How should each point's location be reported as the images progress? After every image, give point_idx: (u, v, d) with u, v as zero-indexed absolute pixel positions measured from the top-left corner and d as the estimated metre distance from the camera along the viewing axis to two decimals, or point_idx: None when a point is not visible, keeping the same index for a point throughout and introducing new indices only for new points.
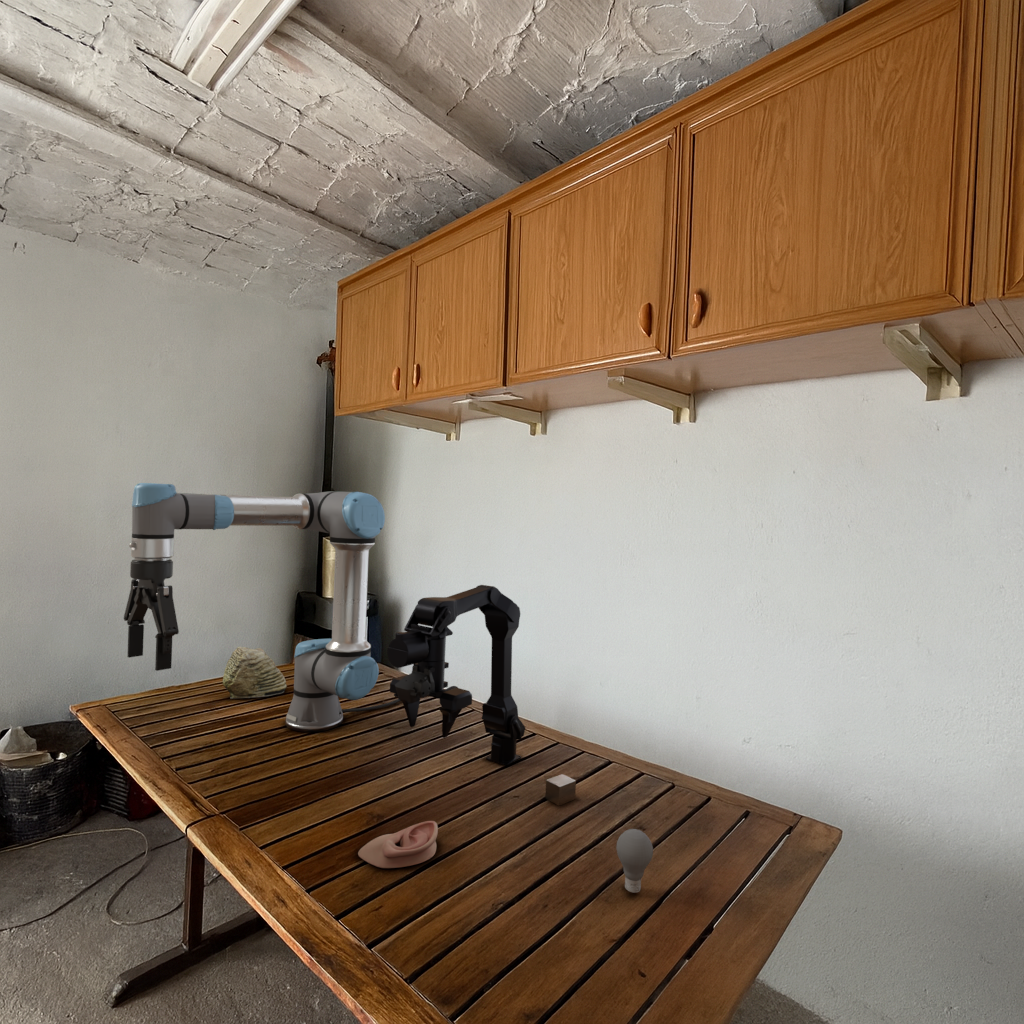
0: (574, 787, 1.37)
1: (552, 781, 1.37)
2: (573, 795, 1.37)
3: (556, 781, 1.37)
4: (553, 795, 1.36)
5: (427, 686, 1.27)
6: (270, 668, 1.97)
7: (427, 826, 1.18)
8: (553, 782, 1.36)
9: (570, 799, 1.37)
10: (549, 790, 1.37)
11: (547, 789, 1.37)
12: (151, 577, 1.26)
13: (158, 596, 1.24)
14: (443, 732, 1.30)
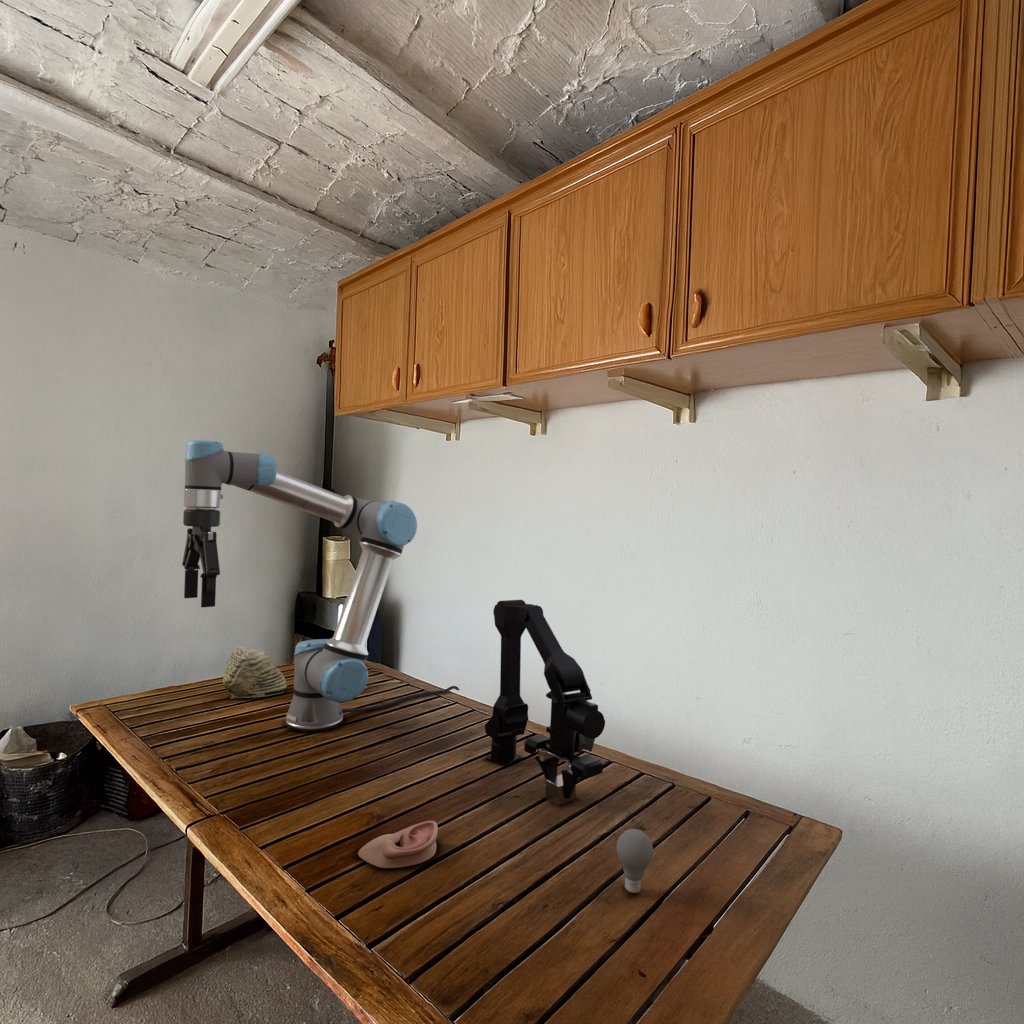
0: (574, 787, 1.37)
1: (552, 781, 1.37)
2: (573, 795, 1.37)
3: (556, 781, 1.37)
4: (553, 795, 1.36)
5: None
6: (270, 668, 1.97)
7: (427, 826, 1.18)
8: (553, 782, 1.36)
9: (570, 799, 1.37)
10: (549, 790, 1.37)
11: (547, 789, 1.37)
12: None
13: None
14: None
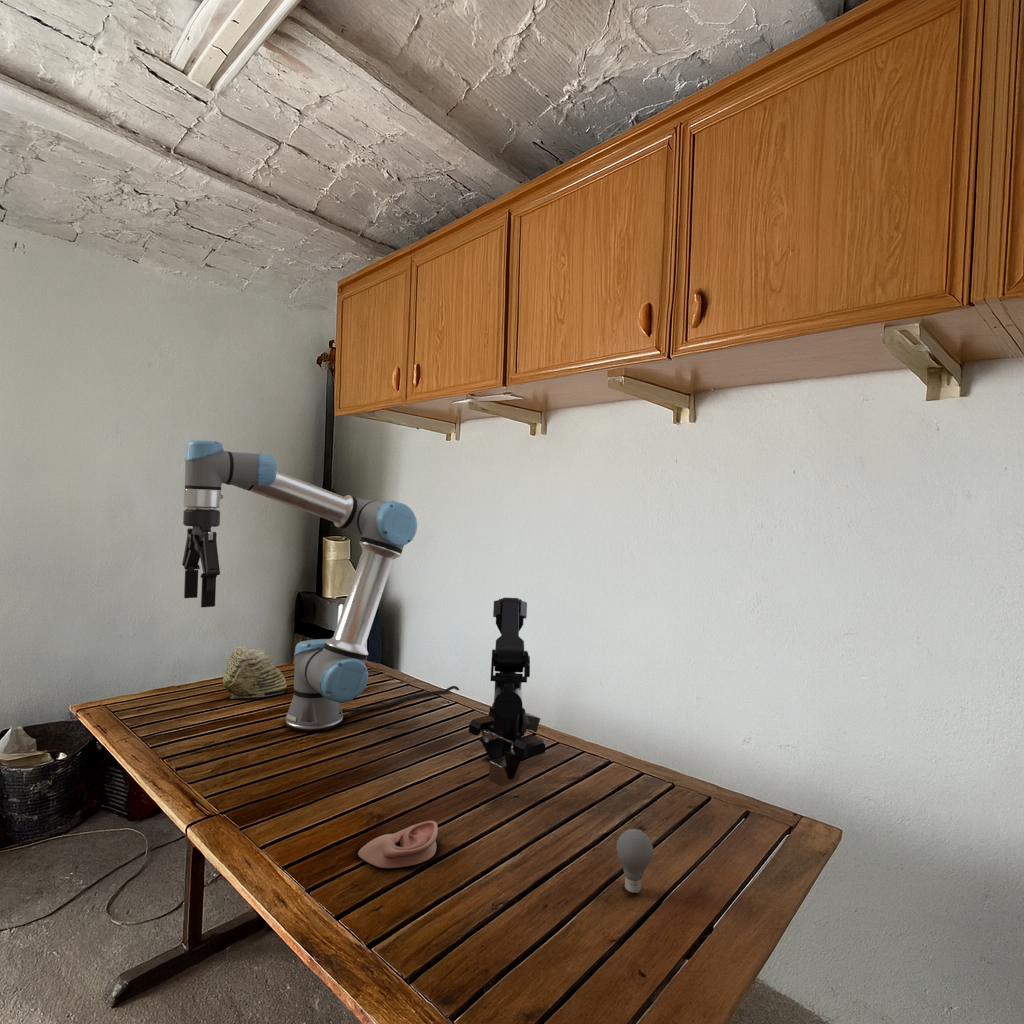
0: (518, 768, 1.36)
1: (496, 762, 1.35)
2: (517, 776, 1.36)
3: (499, 762, 1.35)
4: (496, 776, 1.34)
5: None
6: (270, 668, 1.97)
7: (427, 826, 1.18)
8: (496, 762, 1.35)
9: (514, 780, 1.35)
10: (492, 771, 1.35)
11: (491, 770, 1.35)
12: None
13: None
14: None
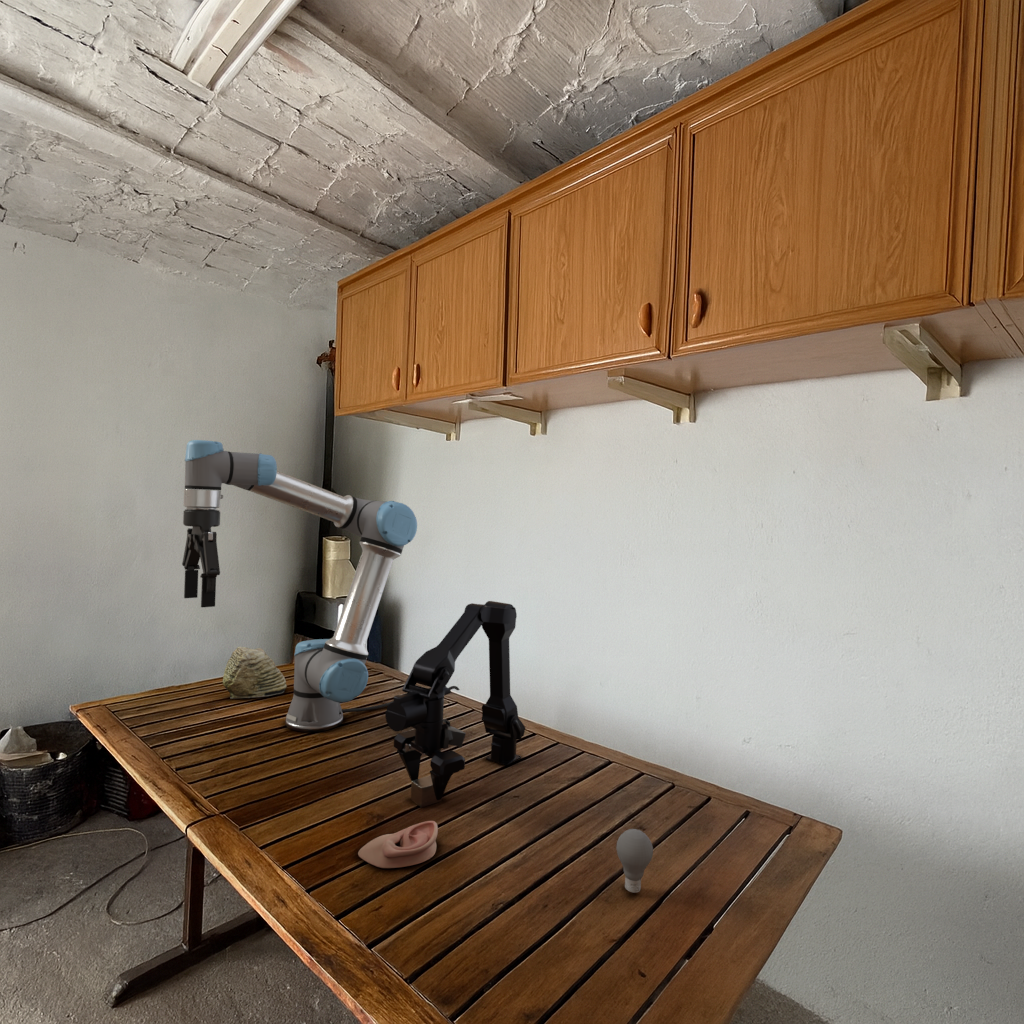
0: None
1: (417, 782, 1.33)
2: None
3: (421, 782, 1.33)
4: (417, 797, 1.32)
5: None
6: (270, 668, 1.97)
7: (427, 826, 1.18)
8: (417, 783, 1.33)
9: (436, 800, 1.33)
10: (414, 791, 1.33)
11: (412, 790, 1.34)
12: None
13: None
14: None
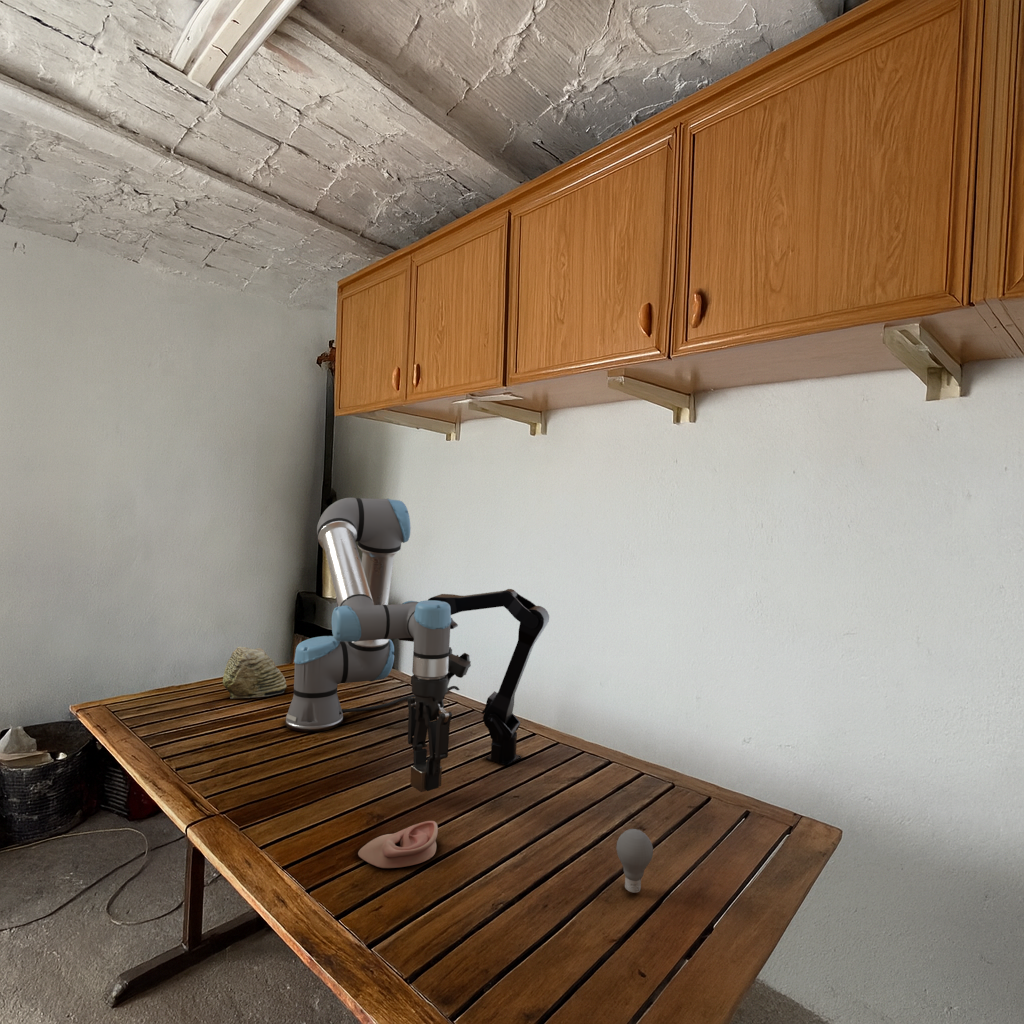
0: (440, 774, 1.34)
1: (417, 767, 1.33)
2: (439, 782, 1.34)
3: (421, 767, 1.34)
4: (417, 782, 1.32)
5: None
6: (270, 668, 1.97)
7: (427, 826, 1.18)
8: (417, 768, 1.33)
9: None
10: (413, 776, 1.33)
11: (412, 775, 1.34)
12: None
13: None
14: None
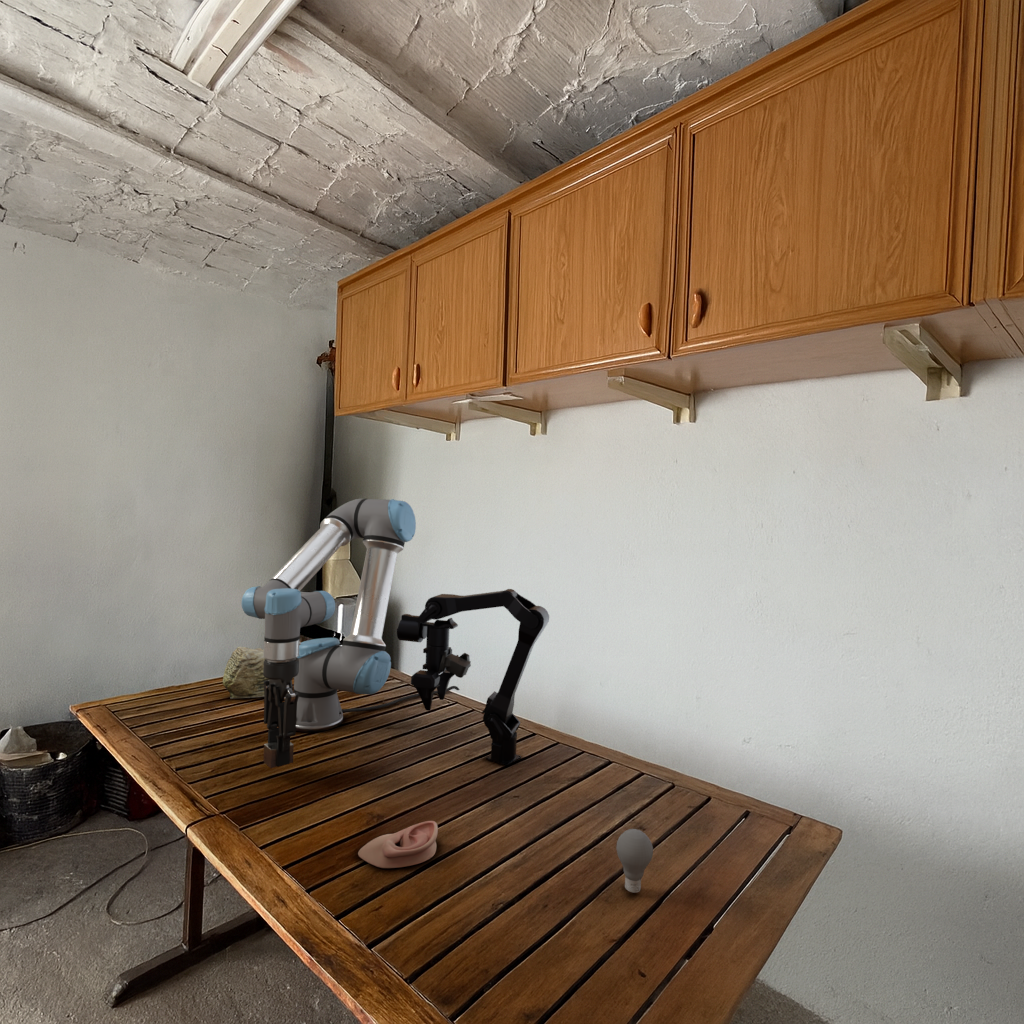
0: (291, 751, 1.43)
1: (269, 745, 1.42)
2: (290, 758, 1.43)
3: (273, 745, 1.42)
4: (268, 759, 1.41)
5: None
6: None
7: (427, 826, 1.18)
8: (269, 745, 1.42)
9: None
10: (265, 753, 1.42)
11: (264, 753, 1.42)
12: None
13: None
14: (444, 694, 1.66)
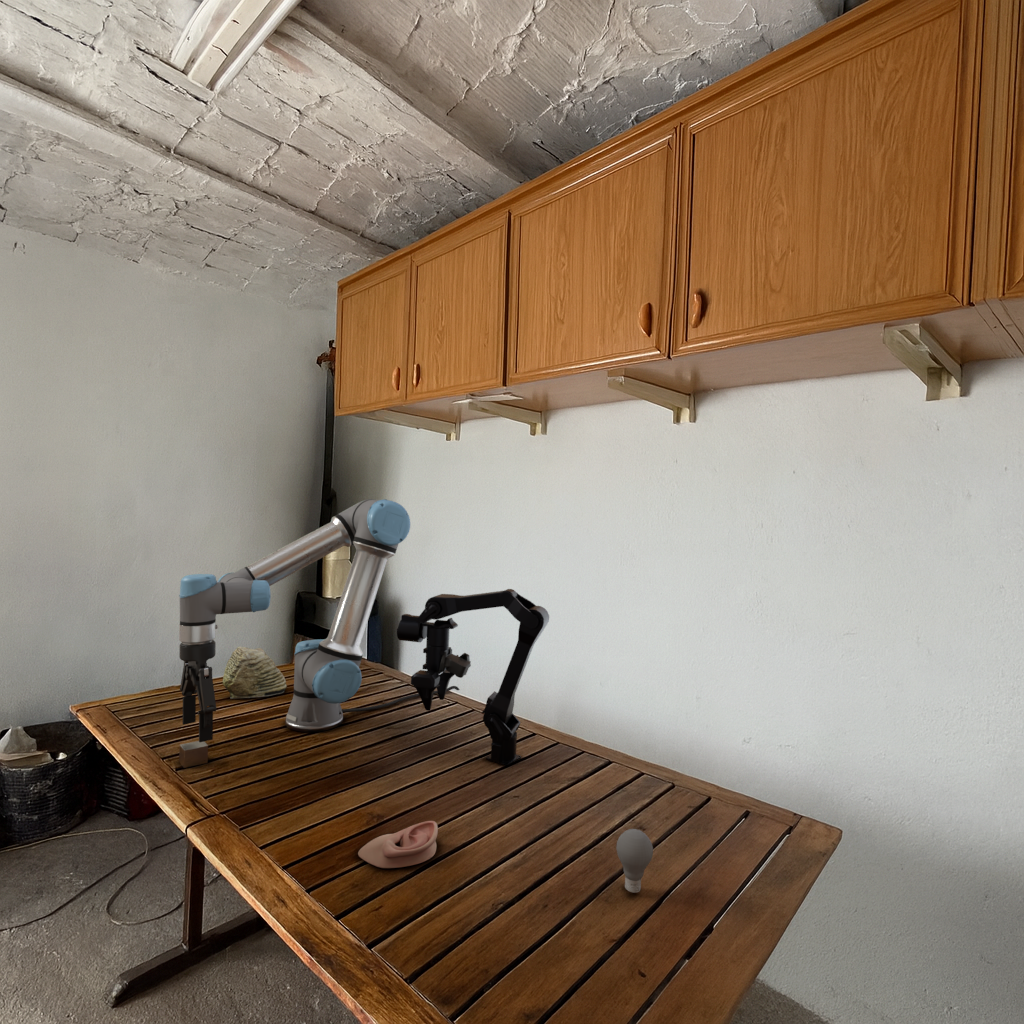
0: (206, 752, 1.47)
1: (183, 746, 1.47)
2: (205, 759, 1.47)
3: (187, 745, 1.47)
4: (182, 759, 1.46)
5: None
6: (270, 668, 1.97)
7: (427, 826, 1.18)
8: (183, 746, 1.46)
9: (201, 762, 1.47)
10: (180, 754, 1.47)
11: (179, 753, 1.47)
12: None
13: None
14: (444, 694, 1.66)
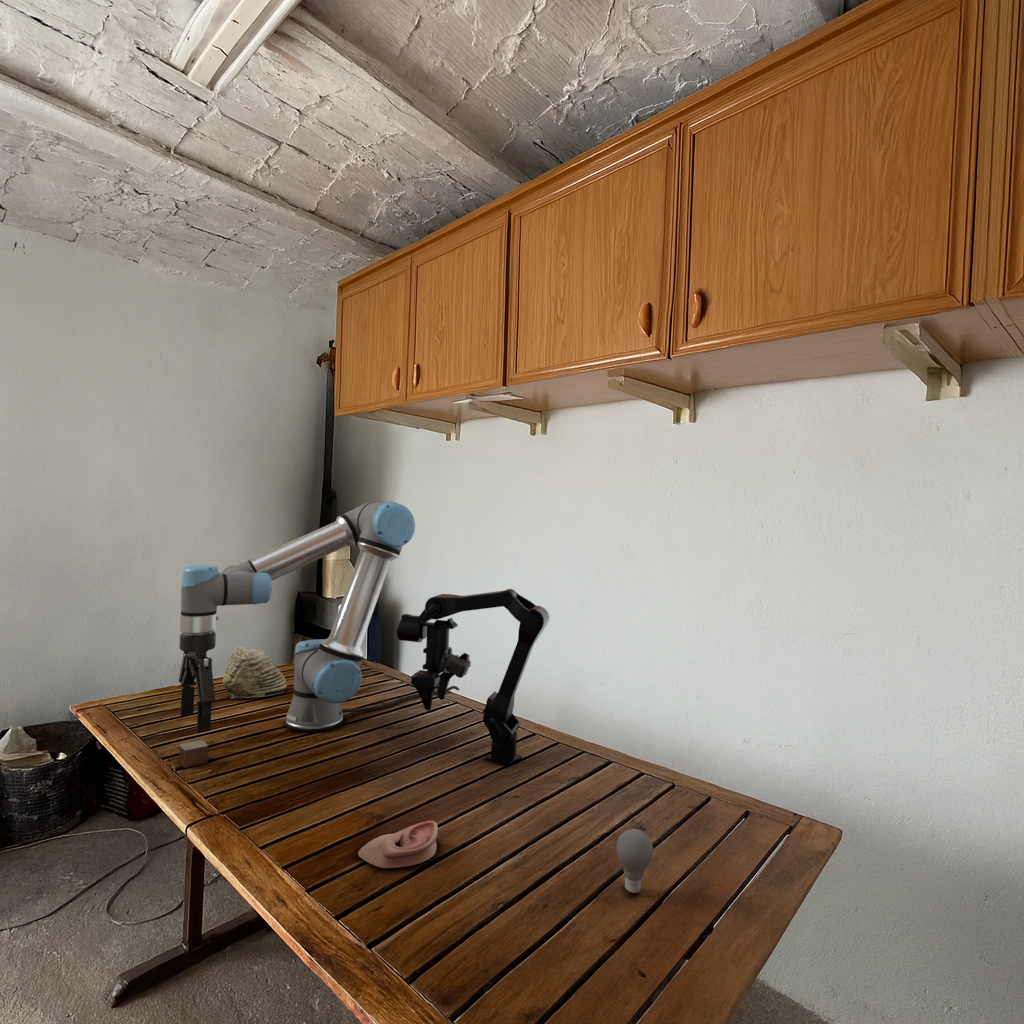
0: (206, 752, 1.47)
1: (183, 746, 1.47)
2: (205, 759, 1.47)
3: (187, 745, 1.47)
4: (182, 759, 1.46)
5: None
6: (270, 668, 1.97)
7: (427, 826, 1.18)
8: (183, 746, 1.46)
9: (201, 762, 1.47)
10: (180, 754, 1.47)
11: (179, 753, 1.47)
12: None
13: None
14: (444, 694, 1.66)
